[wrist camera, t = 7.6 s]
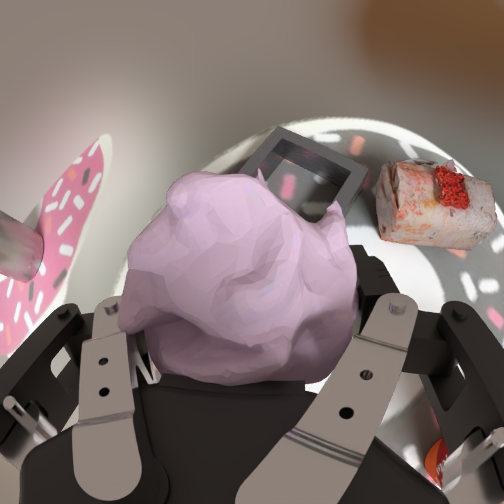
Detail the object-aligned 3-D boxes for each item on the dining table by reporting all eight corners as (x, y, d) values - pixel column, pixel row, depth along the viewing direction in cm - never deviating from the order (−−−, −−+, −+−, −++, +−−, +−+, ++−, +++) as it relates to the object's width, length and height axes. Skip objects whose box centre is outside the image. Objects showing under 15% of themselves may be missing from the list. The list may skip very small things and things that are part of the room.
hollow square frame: (225, 214, 33) (216, 198, 30) (280, 146, 36) (278, 125, 32) (312, 268, 30) (314, 257, 26) (362, 187, 32) (368, 168, 28)
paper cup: (407, 456, 21) (464, 509, 8) (458, 413, 21) (533, 436, 8) (428, 492, 18) (478, 543, 5) (475, 451, 19) (540, 481, 5)
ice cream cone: (303, 263, 20) (314, 80, 6) (337, 346, 17) (467, 339, 3) (214, 297, 20) (60, 187, 6) (243, 381, 18) (105, 460, 4)
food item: (371, 249, 30) (398, 208, 20) (369, 187, 32) (388, 135, 23) (468, 258, 27) (514, 227, 18) (460, 200, 29) (495, 159, 20)
